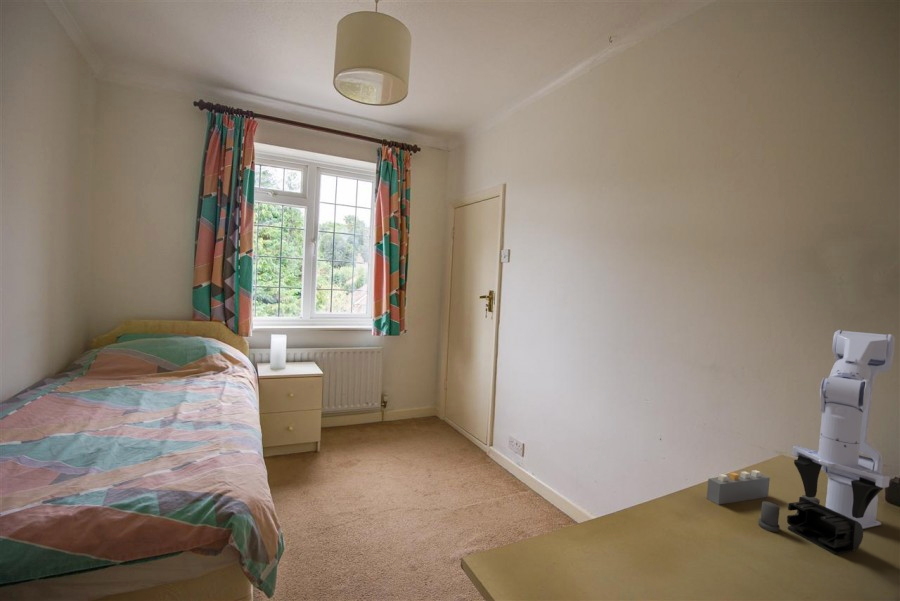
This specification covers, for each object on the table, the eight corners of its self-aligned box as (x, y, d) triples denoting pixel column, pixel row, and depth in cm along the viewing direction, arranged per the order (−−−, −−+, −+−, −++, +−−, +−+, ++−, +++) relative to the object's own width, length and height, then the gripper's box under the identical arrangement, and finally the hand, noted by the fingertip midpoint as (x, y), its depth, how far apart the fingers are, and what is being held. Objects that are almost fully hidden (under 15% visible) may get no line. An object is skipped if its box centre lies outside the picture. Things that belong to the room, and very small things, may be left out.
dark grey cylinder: (804, 514, 96) (806, 493, 96) (823, 522, 92) (825, 501, 92) (795, 516, 95) (797, 495, 95) (813, 524, 91) (815, 503, 91)
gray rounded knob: (765, 521, 91) (767, 499, 91) (783, 531, 88) (785, 508, 88) (754, 523, 90) (756, 501, 90) (772, 533, 86) (774, 510, 86)
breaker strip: (755, 491, 106) (757, 467, 106) (768, 496, 104) (770, 472, 103) (706, 498, 100) (708, 473, 100) (718, 504, 97) (720, 479, 97)
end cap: (862, 553, 82) (865, 520, 82) (838, 557, 80) (841, 523, 80) (806, 524, 91) (809, 495, 91) (783, 527, 89) (786, 497, 89)
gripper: (785, 426, 85) (779, 490, 86) (876, 454, 72) (868, 529, 72) (806, 425, 88) (801, 487, 88) (898, 452, 74) (891, 525, 74)
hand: (833, 506), depth 80 cm, fingers open, 7 cm apart
